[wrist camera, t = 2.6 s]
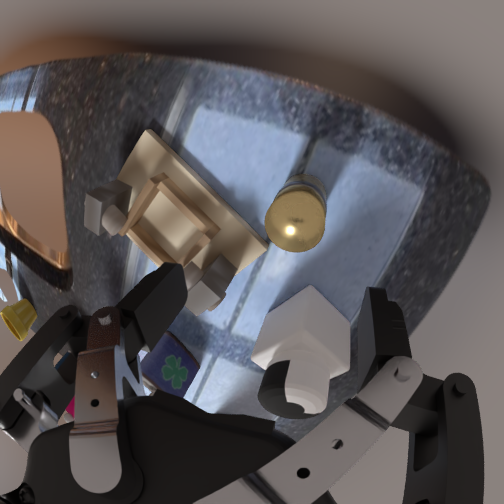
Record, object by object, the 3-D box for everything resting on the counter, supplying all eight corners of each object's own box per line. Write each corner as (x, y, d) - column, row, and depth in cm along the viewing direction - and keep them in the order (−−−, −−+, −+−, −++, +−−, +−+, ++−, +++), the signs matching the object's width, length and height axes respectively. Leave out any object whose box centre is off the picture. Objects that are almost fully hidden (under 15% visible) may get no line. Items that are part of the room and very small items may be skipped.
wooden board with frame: (270, 246, 27) (255, 280, 22) (202, 301, 33) (181, 333, 28) (150, 129, 24) (111, 137, 19) (107, 205, 30) (73, 224, 25)
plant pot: (46, 324, 57) (25, 345, 49) (33, 319, 61) (14, 338, 52) (28, 293, 53) (5, 314, 45) (17, 291, 56) (-3, 309, 48)
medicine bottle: (305, 347, 32) (287, 431, 22) (265, 313, 31) (232, 398, 21) (351, 322, 29) (348, 414, 18) (310, 282, 28) (292, 376, 17)
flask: (159, 330, 39) (123, 381, 30) (171, 328, 38) (134, 382, 29) (192, 369, 42) (164, 419, 33) (205, 369, 41) (178, 421, 32)
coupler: (336, 198, 23) (338, 229, 17) (302, 225, 25) (292, 263, 19) (304, 163, 22) (295, 182, 16) (272, 193, 24) (251, 221, 18)
